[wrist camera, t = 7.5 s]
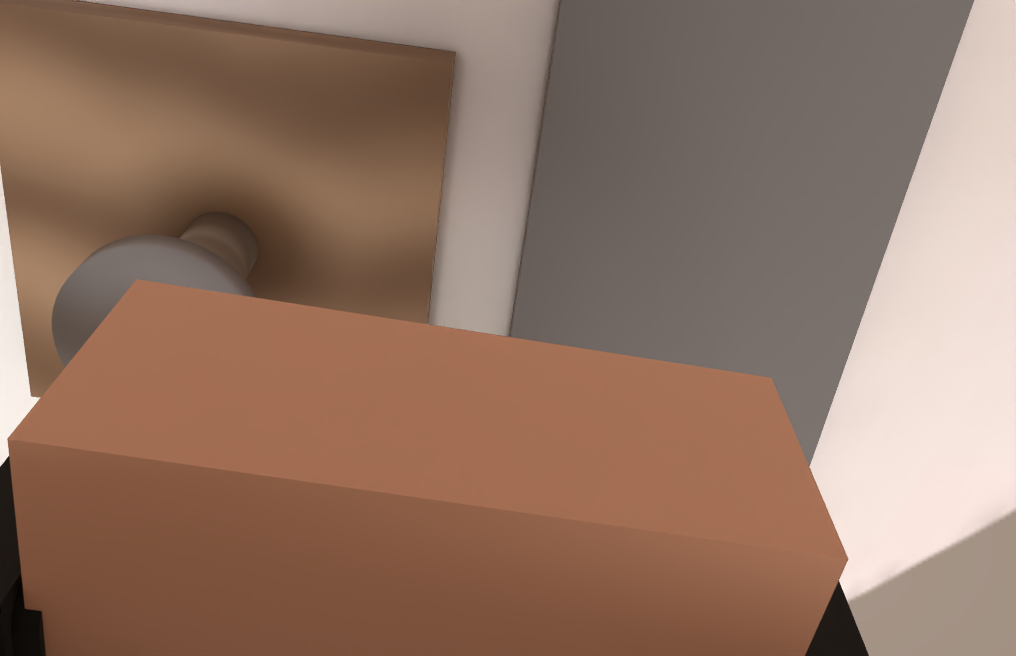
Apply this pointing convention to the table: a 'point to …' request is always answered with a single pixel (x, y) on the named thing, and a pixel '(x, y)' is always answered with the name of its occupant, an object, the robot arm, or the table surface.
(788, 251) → the mat
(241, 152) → the stand
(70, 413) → the link
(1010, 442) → the table surface
